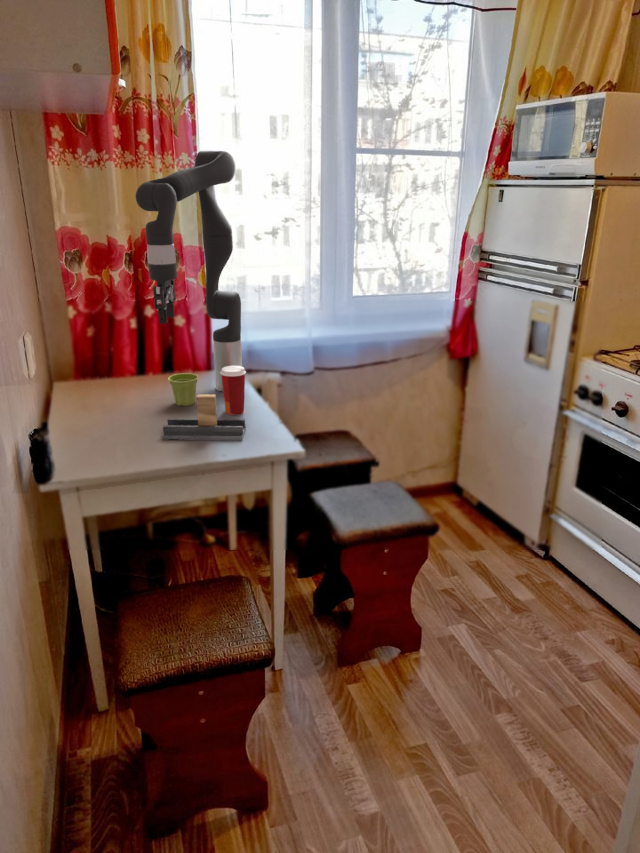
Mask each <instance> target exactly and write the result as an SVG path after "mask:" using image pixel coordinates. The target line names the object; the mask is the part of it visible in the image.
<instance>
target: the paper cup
mask: <svg viewBox="0 0 640 853" xmlns="http://www.w3.org/2000/svg"><path fill="white" fill-rule="evenodd" d="M246 373H247V371H246V369H245V367H243V366H242V367H241V366H226V367H224V368H222V370H221V372H220V374H221V375H222V383H223V392H222V393H223V398H224V399H223V400H224V408H225V413H226V415H229V416H239V415H242V414H244V413H245V394H246V393H245V391H246V389H245V388H246V387H245V385H246V382H245V381H246ZM243 412H244V413H243Z"/></svg>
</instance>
